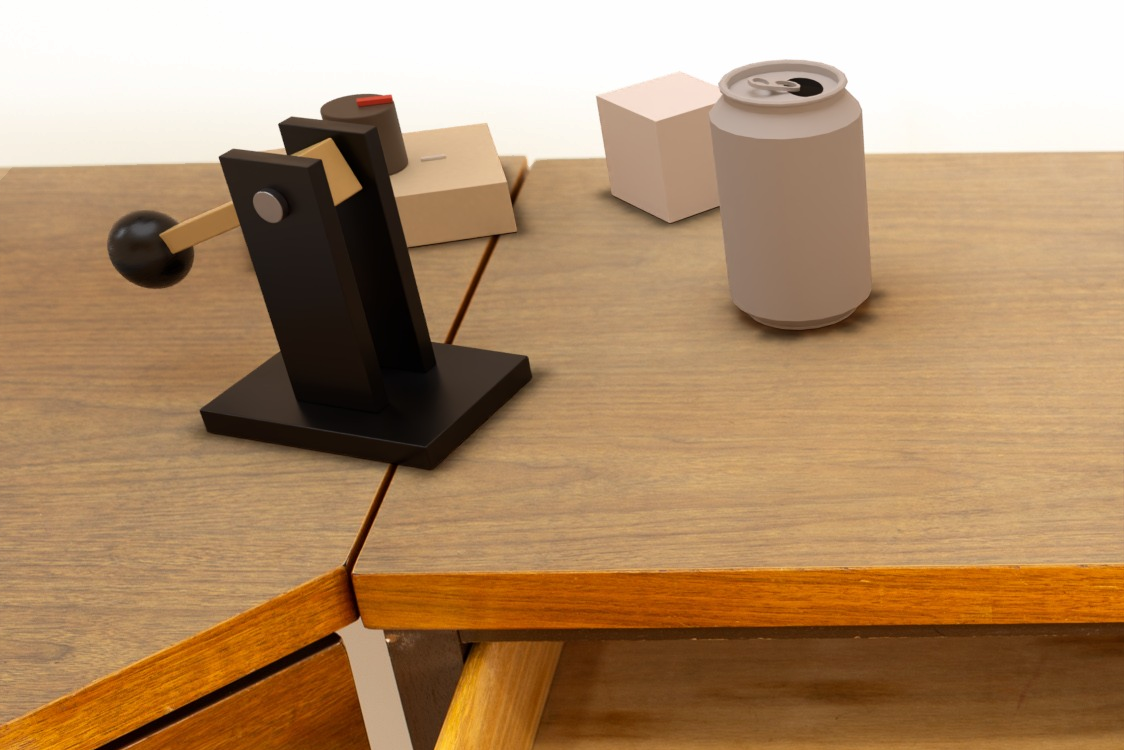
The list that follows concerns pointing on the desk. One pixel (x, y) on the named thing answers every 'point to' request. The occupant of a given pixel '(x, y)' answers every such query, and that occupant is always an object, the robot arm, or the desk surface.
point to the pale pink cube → (661, 145)
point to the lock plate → (450, 186)
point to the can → (792, 192)
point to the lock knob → (372, 122)
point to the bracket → (347, 315)
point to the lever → (197, 228)
